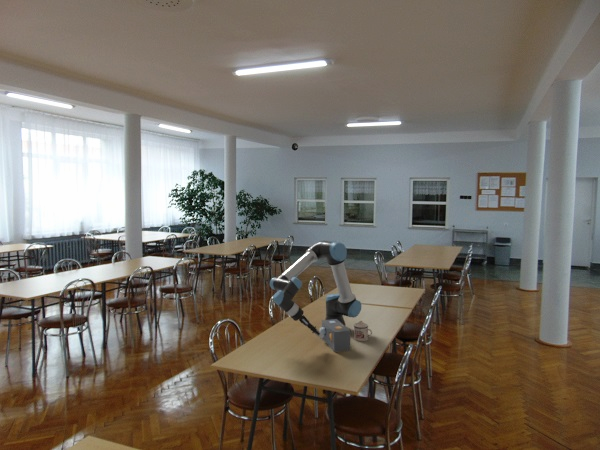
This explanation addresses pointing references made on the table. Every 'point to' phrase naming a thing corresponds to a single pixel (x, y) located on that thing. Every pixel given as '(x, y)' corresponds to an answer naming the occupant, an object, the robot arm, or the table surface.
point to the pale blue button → (323, 330)
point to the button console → (336, 335)
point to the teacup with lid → (361, 331)
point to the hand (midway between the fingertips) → (322, 337)
